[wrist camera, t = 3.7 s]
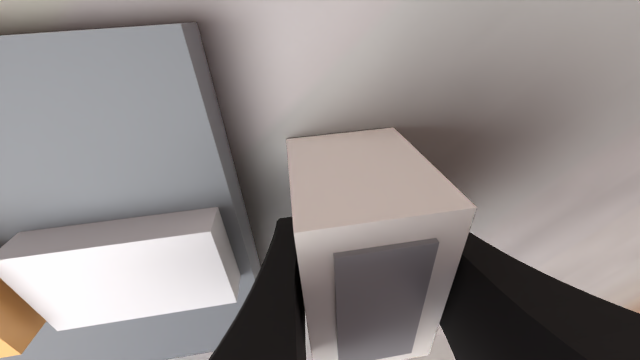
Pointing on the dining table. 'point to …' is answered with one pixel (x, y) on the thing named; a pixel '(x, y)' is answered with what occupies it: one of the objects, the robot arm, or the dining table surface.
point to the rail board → (119, 194)
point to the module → (373, 243)
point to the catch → (16, 322)
